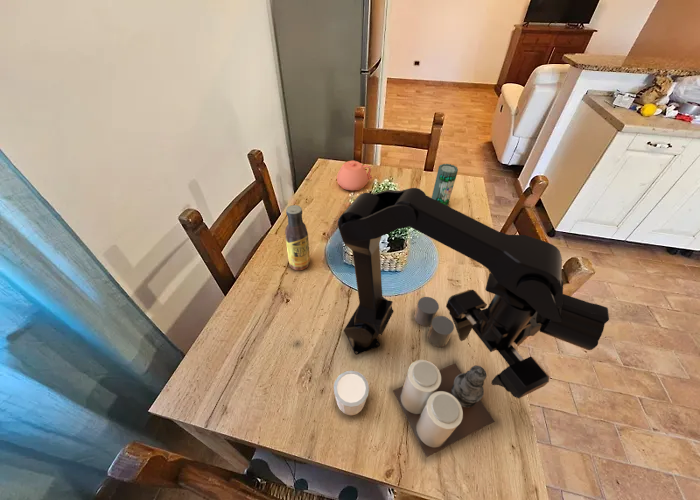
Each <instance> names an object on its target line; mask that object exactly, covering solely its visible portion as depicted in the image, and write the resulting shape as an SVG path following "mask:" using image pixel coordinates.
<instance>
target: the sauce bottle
mask: <svg viewBox="0 0 700 500" xmlns="http://www.w3.org/2000/svg"><path fill="white" fill-rule="evenodd" d="M285 211H286V212H285V213H286V216H287V225H286V226H285V230H284V234H285V245H286V251H287V260H288V263H289V266H290V268H291V269H292V270H294V271H302V270H305V269H306V268H308V266H309V265H310V260H311V255H310V243H309V233H308V229H307V226H306V224H305V222H304V219H303V208H302V207H301V206H300V205H297V204H292V205H289V206H288V207H286V210H285Z"/></svg>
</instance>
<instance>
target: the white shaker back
mask: <svg viewBox="0 0 700 500" xmlns="http://www.w3.org/2000/svg"><path fill="white" fill-rule="evenodd" d="M407 369H408V370H407V372H406V376H405V378H404V382H403V385H402V386H403V388H402V391H401V402H402V404H403V406H404V407H405V409H406V410H408V411H409V412H411V413H414V414H421V413H422V411H423V409H424V406H425V404H426V402H427V400H428V398H429V397H430V396H431V395H432V394H433V393H435V392H436V391H437V389H438V388H439V386H440V383H441V374H440V371H439V370H440V369H439V368H438V366H436V364H434V363H433V362H432V361H430V360H427V359H416V360H415V361H413V362H412V363H411V364H410V365H409V367H408V368H407Z"/></svg>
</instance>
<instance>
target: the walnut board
mask: <svg viewBox="0 0 700 500" xmlns="http://www.w3.org/2000/svg"><path fill="white" fill-rule="evenodd" d="M438 370H439V371H440V374H441V383H440V386H439V388H438V389H437V391H436V392H438V391H444V392H447V393H450V394H451V389H452V386H453V385H454V380H455V378H456V377H457V376H458V375H459V374H462V373H463V372H462V371H461V369H460V368H459V366H458V365H457V364H456V363H453V364H451V365H448V366H446V367H444V368H442V369H438ZM402 388H403V385H402V386H400V387H398V388H396V389H395V388H394V389H393V390H392V392H393V394H394V396H395V398H396V400H397V402H398V404H399V406H400V408H401V410H402V413H403V414H404V417H405V418H406V420H407V422H408V424H409V426H410V429H411V431H412V432H413V434H414V436H415V438H416V440H417V442H418V444H419V446H420V448H421V450H422V452H423V454H424V456H425V458H428V457H429V456H432V455H434V454H435V453H438V452H440V451H441V450H444V449H445V448H447V447H449V446H451V445H453V444H454V443H456V442H459V441H460V440H463V439H464V438H466V437H468V436H470V435H472V434H473V433H476V432H477V431H479V430H482V429H484V428H485V427H487V426H490V425H492V424H493V423H495V422H496V421H495V419H494V418H493V416H492V414H490V411H488V409H487V408H486V406H485V405H484V403H483V401H482V399H481V400H480V401H478V402H476V404H475V405H474V406H472V407H468V408H467V407H463V406H461V407H462V411H463V418H462V421H461V423H460V424H459V425H458V427H457V428H456V429H455V430H454V432H453V433H452V434H451V435H450V437H449V438H448V439H447V440H446V442H445V443H444V444H443V445H442V446H440V447H430V446H428V445H426V444H424V443H423V442H422V441H421V439H420V438H419V436H418V434H417V430H416V424H417V421H418V419H419V417H420V415H421V414H414V413H411V412H409V411H408V410H406V409H405V407H404V406H403V404H402V402H401V391H402ZM451 395H452V394H451Z"/></svg>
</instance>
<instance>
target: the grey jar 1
mask: <svg viewBox="0 0 700 500" xmlns="http://www.w3.org/2000/svg"><path fill="white" fill-rule="evenodd" d="M439 308H440V306H439V302H438V301H437V300H436V299H435V298H433V297H431V296H423V297H421V298H419V299H418V301H417V305H416V308H415V312H414V316H413V317H414V321H415V322H416V323H417V325H420V326H422V327H430V325H431V322H432V320H433V319H434V318H435V317H437V316H438V315H437V314H438V311H439Z"/></svg>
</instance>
